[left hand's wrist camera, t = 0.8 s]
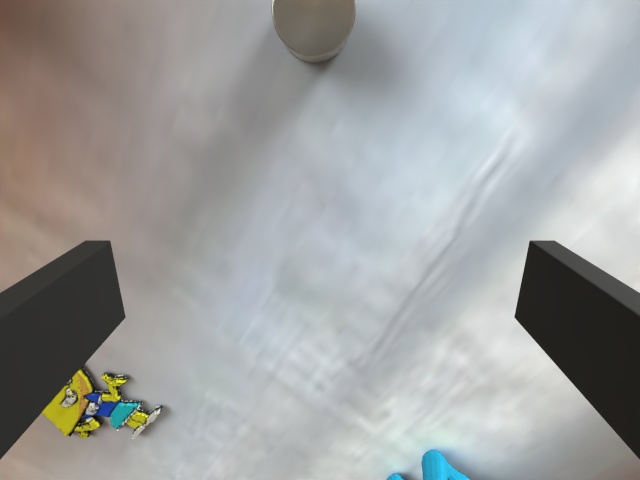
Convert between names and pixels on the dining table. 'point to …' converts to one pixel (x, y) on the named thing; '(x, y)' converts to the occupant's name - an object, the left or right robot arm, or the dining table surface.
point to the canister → (313, 26)
